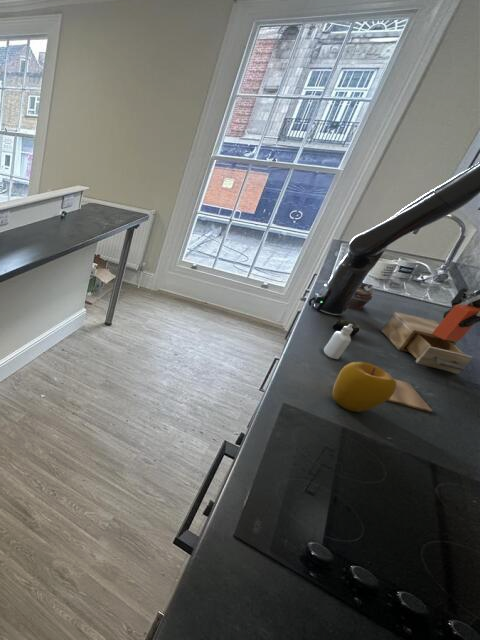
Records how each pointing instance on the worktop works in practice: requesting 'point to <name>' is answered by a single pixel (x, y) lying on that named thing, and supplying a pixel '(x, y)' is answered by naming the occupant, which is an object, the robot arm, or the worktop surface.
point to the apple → (362, 387)
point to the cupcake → (361, 296)
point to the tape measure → (342, 323)
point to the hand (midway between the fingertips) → (453, 321)
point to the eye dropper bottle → (338, 342)
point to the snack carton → (455, 323)
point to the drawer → (437, 353)
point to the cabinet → (408, 329)
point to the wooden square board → (408, 396)
